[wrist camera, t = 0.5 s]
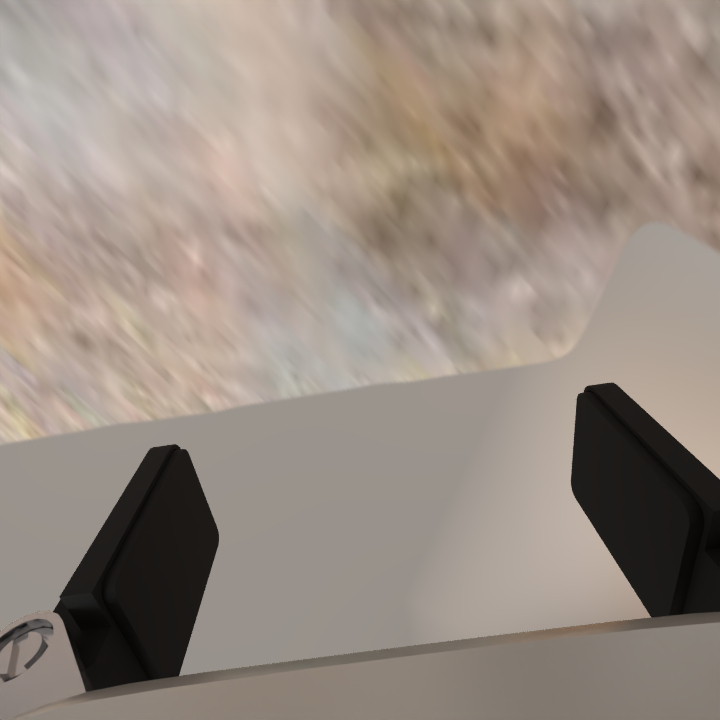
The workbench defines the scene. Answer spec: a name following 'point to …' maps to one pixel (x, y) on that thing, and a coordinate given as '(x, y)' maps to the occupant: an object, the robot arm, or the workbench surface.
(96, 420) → the workbench surface
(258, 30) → the workbench surface
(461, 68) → the workbench surface
